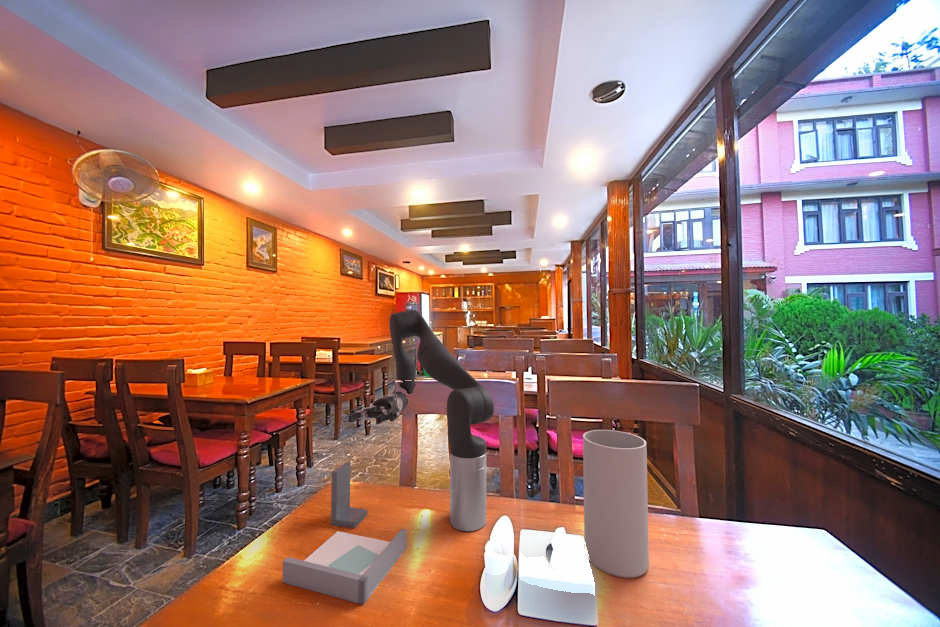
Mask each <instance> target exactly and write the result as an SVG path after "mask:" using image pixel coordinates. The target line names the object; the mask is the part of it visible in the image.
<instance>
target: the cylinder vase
mask: <svg viewBox="0 0 940 627" xmlns="http://www.w3.org/2000/svg"><path fill="white" fill-rule="evenodd" d="M582 442H583V443H582V449H583V450H582V453H583V454H582V455H583V456H582V457H583V458H582V459H583V461H582V463H583V467H582V468H583V519H584V520H583V521H584V522H583V524H584V525H583V526H584V527H583V528H584V530H583V534H584V536H583V537H584V538H583V540H585V542H586V547H587V550H588V554H589V558H590V560H589V561H590V563H592V565H593V566H595V567H596V568H598V570H600V571H603V572H604V573H606V574H608V575H611V576H615V577H618V578H626V579H627V578H629V579H632V578H637V577H640V576H643V575H644V574H645V573H646V572H647V571H648V569H649V566H650V556H649V554H650V548H649V544H650V543H649V511H648V510H649V508H648V507H649V506H648V505H649V500H648V499H649V496H648V460H647V459H648V457H647V455H648V454H647V453H648V452H647V441H646V440H645V439H644V438H642V437H641V436H638V435H635V434H633V433H629V432H625V431H620V430H611V429H594V430H590V431H586V432H584V433H583V434H582Z"/></svg>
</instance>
